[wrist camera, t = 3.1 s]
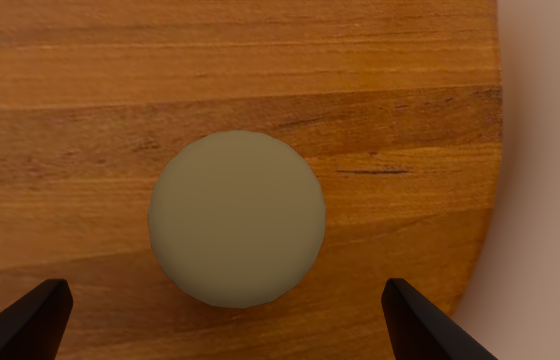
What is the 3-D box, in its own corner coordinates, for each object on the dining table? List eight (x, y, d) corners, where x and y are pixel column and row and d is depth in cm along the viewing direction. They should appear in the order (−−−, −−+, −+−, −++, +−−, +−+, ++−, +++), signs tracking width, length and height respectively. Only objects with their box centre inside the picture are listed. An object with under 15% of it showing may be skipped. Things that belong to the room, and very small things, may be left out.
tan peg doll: (247, 169, 20) (260, 59, 9) (310, 248, 19) (402, 226, 9) (161, 230, 18) (61, 183, 8) (226, 319, 18) (214, 399, 7)
